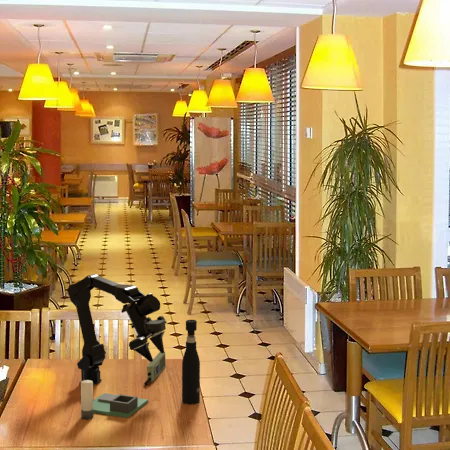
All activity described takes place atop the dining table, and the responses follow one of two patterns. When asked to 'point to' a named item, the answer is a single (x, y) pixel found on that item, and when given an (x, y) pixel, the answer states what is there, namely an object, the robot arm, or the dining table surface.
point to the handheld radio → (155, 367)
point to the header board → (117, 404)
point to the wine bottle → (191, 367)
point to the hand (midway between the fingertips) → (157, 357)
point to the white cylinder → (87, 399)
